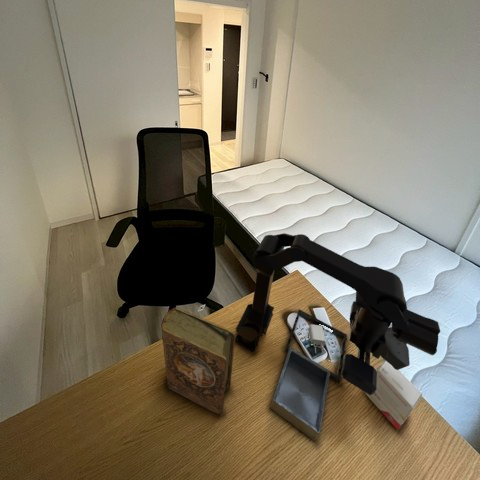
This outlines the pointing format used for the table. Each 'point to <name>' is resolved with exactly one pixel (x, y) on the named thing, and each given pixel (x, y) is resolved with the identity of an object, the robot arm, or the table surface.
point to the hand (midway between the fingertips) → (351, 360)
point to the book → (197, 358)
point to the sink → (302, 393)
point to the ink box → (394, 394)
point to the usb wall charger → (317, 336)
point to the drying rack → (336, 332)
